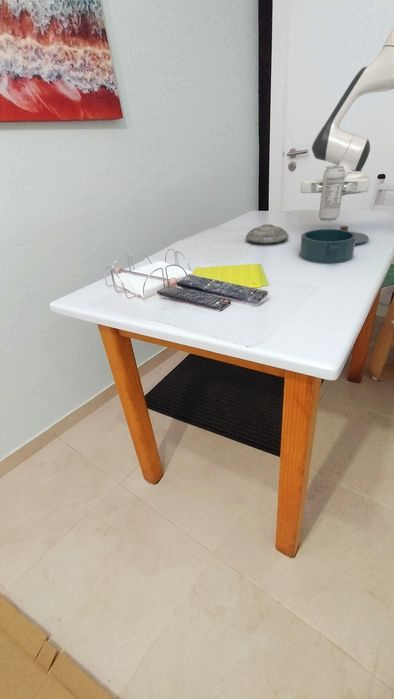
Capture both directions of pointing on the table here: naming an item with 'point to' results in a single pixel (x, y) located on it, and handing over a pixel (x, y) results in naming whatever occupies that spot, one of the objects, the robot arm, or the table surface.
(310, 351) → the table surface
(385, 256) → the table surface
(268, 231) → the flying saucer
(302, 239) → the pot
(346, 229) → the pot lid
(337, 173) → the energy drink can
